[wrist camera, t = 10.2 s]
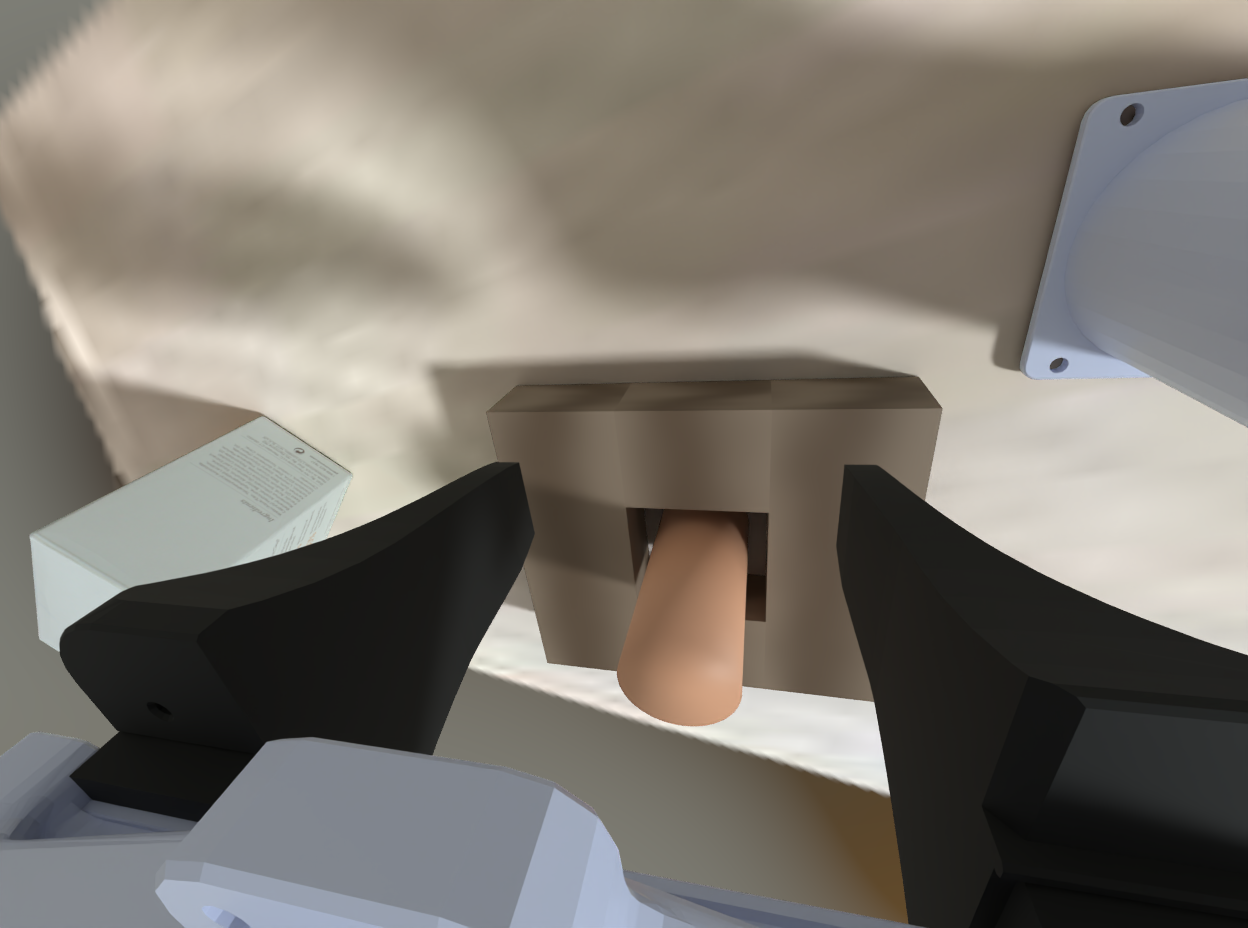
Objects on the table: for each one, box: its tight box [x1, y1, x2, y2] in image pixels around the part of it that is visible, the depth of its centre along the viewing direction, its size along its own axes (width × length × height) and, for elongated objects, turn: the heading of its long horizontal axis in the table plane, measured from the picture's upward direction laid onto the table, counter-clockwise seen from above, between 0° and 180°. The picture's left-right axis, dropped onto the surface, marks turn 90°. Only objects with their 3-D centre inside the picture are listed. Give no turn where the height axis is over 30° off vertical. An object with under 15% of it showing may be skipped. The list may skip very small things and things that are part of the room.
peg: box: [617, 509, 749, 726], centre depth 21 cm, size 4×4×9 cm
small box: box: [29, 416, 352, 652], centre depth 25 cm, size 8×6×10 cm
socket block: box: [486, 377, 943, 702], centre depth 23 cm, size 16×14×3 cm
